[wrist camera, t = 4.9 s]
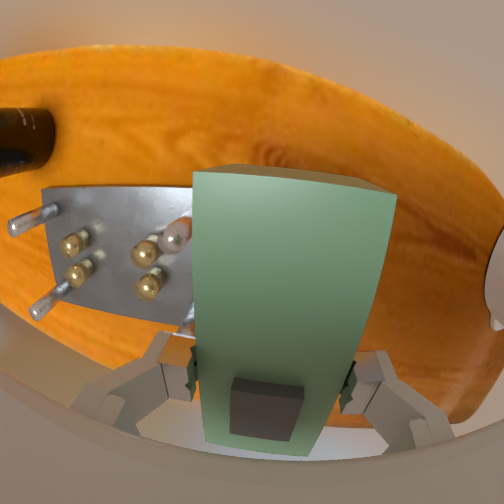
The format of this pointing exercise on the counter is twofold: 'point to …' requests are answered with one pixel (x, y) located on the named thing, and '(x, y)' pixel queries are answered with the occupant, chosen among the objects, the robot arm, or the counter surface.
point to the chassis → (118, 250)
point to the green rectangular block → (281, 297)
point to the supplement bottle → (24, 139)
